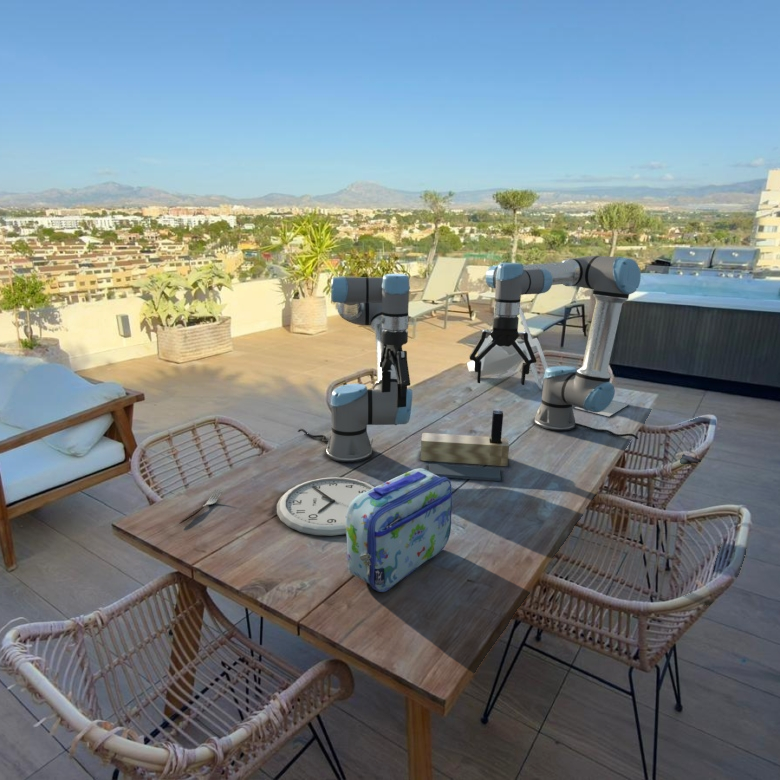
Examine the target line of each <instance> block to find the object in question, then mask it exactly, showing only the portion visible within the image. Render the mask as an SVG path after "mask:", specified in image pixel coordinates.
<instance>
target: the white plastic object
mask: <svg viewBox="0 0 780 780" xmlns="http://www.w3.org/2000/svg"><path fill="white" fill-rule="evenodd" d="M519 318H520V319H521V323H522V326H523V328H524V329H523V330H524V331H526V332H527V333H528V341H529V343H530V346H531V348H532V351H533V353H534V354H535V353H537V352H538V355H539V358H540V360H541V364H542V367H543V369H544V371H545V370H546V369H547V368H549V366H548V363H547V359H546V357H545V354H544V352H543V351H544V350H543V348H542V346H541V343H540V340H539V339H538V338H537V337H535V338H533V337H532V334H531V331H530V328H529V325H528V322H527V319H526V316H525V313H524V312H523V309H522V307H520V310H519ZM492 340H493V339H492V337H491V335H490V336H488V338H485V340H484V342H483V344H482V346H481V347H480V349H479V351H478V352H477V354H476V357H477V356H478V355H479V354H480V353H481V352H482V350H483V349H484V348H485V347H486V346H487V345H488V344H489V343H490V342H491V341H492ZM517 340H518V339H516V341H515V342H516V343H517V345H518V346H519V347H520V349H521V350H522V351H523V353H524V354H525V355H526V357H527V358H528V359H531V357H530V355H529V352H528V350H527V348H526V345H525V343H524V342H522V343H521V342H519V341H517ZM480 361H481V376H480V377H483V376H491V375H492V376H493V375H498V376H501V375H504V374H507V373H508V372H509V370H510V369H512V368H513V367H514V366H516V365H518V364H519V363H520V362H521V361H524V360H523V358H522V357H521V356H520V355H519V353H518V352H517V351H516V349H515V348H514V347H513V346H512V345H511V346H509V347H507V346H498V345H495V346H494V347H493V348H492V349H491V350H490V351H489V352H488V353H487V354H486V355H485V356H484V357H483V358H482V359H481V360H480ZM466 365H467V369H468V373H469V374H470V375H471V376H472V377H473V378H477V377H478V372H475V370H474V368H475V361H473V360H470V361H468V362H466ZM530 369H531V372H532V375H533V379H534V382H535V384H536V385H537V386H538V388H539V389H540V390H543V385H542V382H541V380H540V377H539V374H538V371H537V368H536V365H535V363H531V364H530Z"/></svg>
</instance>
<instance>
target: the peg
mask: <svg viewBox="0 0 780 780" xmlns="http://www.w3.org/2000/svg"><path fill="white" fill-rule="evenodd" d="M503 420H504V411H503V410H492V419H491V430H490V431H491V432H490V437H491V442H490V443H496V444H501V438H502V435H503V423H504V421H503Z"/></svg>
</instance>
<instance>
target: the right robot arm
mask: <svg viewBox="0 0 780 780" xmlns="http://www.w3.org/2000/svg"><path fill="white" fill-rule="evenodd" d="M641 274H642V273H641V268H640V267H639V264H638V262H637V261H636V260H634V259H633V258H629V257H624V256H606V255H605V256H603V255H589V256H582V257H581V256H580V257H575V258H574V257H573V258H567V259H564V260H563V261H561V262H547V263H532V264H529V263H528V264H522V263H519V262H500V263H498V265H491V266H490V267H489V268H488V269H487V270H486V272H485V283H486V285H487V286H488V287H489V288H491V289H495V291H494V305H493V314H494V315H493V317H492V329H491V331H488V330H485V329H482V330H481V334H480V337H479V339H478V341H477V343H476V344H475V346H474V347H473V349H472V351H471V353H470V354H469V360H470V361H475V368H474V370H475V372H478V376H476V378H477V379H476V382H477V384H481V377H482V376H481V361H480V360H481V359H482V358H483V357H484V356H485V355H486V354H487V353H488V352H489V351H490V350H491V349H492V348H493V347H494V346H495V345H498V346H507V347H509V346H511V345H512V346H513V347H514V348H515V349H516V351H517V352H518V353H519V355H520V356H521V357H522V358H523V360H522V361H524V362H522V366H521V378H520V384H521V386H525V384H526V375H529V374H530V369H531V366H530V364H531V363H534V364H535V363H537V358H536V355H535V353H533V351H532V348H531V346H530V343H529V341H528V333H527V332H526V331H525V330H524V331H523V332H519V330H518V329H519V320H520V317H519V316H520V314H519V310H520V308H521V297H522V296H524V295H540V294H545V293H547V292H549V291H550V290H551V289H552V286H555V285H557V286H558V285H563V286H565V287H579V288H582V289H583V288H584V289H589V290H592V291H593V292H592V296H593V298H594V299H595V305H594V309H593V314H592V319H591V323H590V327H589V332H588V336H587V337H588V338H587V341H586V342H587V343H586V346H585V351H584V355H583V360H582V366H581V367H580V368H578V369H577V367H574V366H569V365H568V366H567V365H557V366H550V367H549V366H548V368H547V369H546V370H544V375H543V378H542V379H543V381H542V390H541V391H542V392H541V402H540V405H539V407H538V408H537V411H536V413H535V417H534V424H535V425H536V426H537V427H539V428H542V429H544V430H549V431H556V432H567V431H572V430H574V429H575V428H576V426H577V427H581V428H583V429H584V428H585V429H587V430H592V431H594V432H601V433H608V434H610V435H612V436H614V437H620V438H621V437H623V438H624V437H633V438H634V439H636V440H639V437H638V436H637V435H636V434H634V433H622V434H621V433H620V434H619V433H615V432H613V431H612V430H608V429H603V428H602V429H601V428H596V427H595V428H594V427H591V426H588V425H586V424H582V423H577V422H576V418H575V417H576V416H575V413H574V407H576V406H577V407H579V408H582V409H584V410H586V411H585V412H588V411H591V412H590V413H592V412H601V411H603V410H604V409H606V408H607V407H608V406H609V404H610V403H611V401H613V399H614V397H615V392H616V389H615V386H614V384H613V383H611V382H610V381H611V379H612V378H611V377H612V376H611V374H610V373H609V365H610V361H611V356H612V352H613V347H614V343H615V340H616V333H617V330H618V326H619V320H620V316H621V312H622V306H623V304H624V303H625V302H627V301H628V300H629V299H630V298H629V297H630V295H632V294H634V293H635V292H636V291H637V289H639V286H640V283H641V277H642V275H641ZM490 335H491V337H492V339H493V340H492V341H491V342H490V343H489V344H488V345H487V346H486V347H485V348H484V349H483V350H482V352H481V353H480V354H479V355H478V351H479V349H480V347H481V346H482V344H483V342H484V340H485V338H488V336H490ZM519 337H520V339H521V340H523V343H525V345H526V348H527V350H528V352H529V355H530V357H531V359H528V357H527V356H526V355H525V354H524V353H523V351H522V350H521V349H520V347H519V346H518V345H517V343H516V342H515V341H516V340H518V338H519ZM477 355H478V356H477ZM573 406H574V407H573ZM584 410H583V411H584Z"/></svg>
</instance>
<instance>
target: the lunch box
mask: <svg viewBox="0 0 780 780" xmlns="http://www.w3.org/2000/svg"><path fill="white" fill-rule="evenodd" d="M374 487H375V488H373V489H370V490H368V491H366V492H364V493H362V494H360V495H358V496H357V497H356V498H354V500H353V501H352V502H351V504H350V505H349V507H348V510H347V515H346V534H345V535H346V559H347V561H346V562H347V567H348V571H349V573H350V574H351V575H353V576H354V577H357V578H358V579H361V580H362V581H364V582H365V583H366V584H368V585H370V587H371V588H372V589H373V590H375V591H377V592H379V593H385V592H387V591H389V590H390V589H392V588H393V587H394V586H395V585H396V584H397V583H399V582H401V581H402V580H403V579H404V578H406V577H408V576H409V575H411V573H413V572H414V571H415V570H417V569H418V568H419V567H420V566H422V564H424V563H426V562H428V560H431V559H433V558H435V557H436V556H437V555H438V554H440V553H441V552H442V551H443V550H444V549H445V547H446V546H447V543H448V541H449V539H450V536H451V531H452V511H453V510H452V509H453V508H452V507H453V504H452V503H453V501H452V500H453V499H452V483H451V480H450V479H449V478H448V477H439V476H437V475H435V474H433V473H431V472H429V470H428V469H426V468H423V467H421V468H419V467H418V468H414V469H412V470H409V471H406V472H405V473H403V474H400V475H398V476H396V477H394V478H391V479H390V480H387V481H385V482H383V483H381V484H378V485H376V486H374Z"/></svg>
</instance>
